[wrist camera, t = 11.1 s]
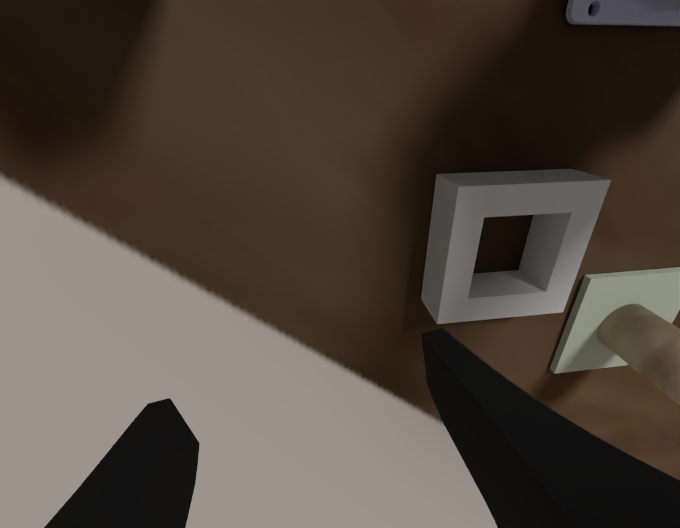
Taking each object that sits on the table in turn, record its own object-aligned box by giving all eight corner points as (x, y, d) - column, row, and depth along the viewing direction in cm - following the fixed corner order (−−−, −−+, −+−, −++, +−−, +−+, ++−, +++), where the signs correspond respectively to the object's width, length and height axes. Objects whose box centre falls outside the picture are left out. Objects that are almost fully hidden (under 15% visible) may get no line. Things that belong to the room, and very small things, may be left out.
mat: (693, 266, 23) (701, 269, 22) (644, 357, 26) (650, 362, 26) (584, 275, 22) (591, 278, 21) (549, 368, 25) (554, 373, 25)
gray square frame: (571, 168, 18) (610, 180, 16) (534, 289, 22) (563, 312, 19) (436, 174, 17) (458, 186, 15) (420, 298, 21) (436, 324, 18)
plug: (641, 294, 22) (763, 365, 17) (650, 326, 24) (764, 401, 18) (592, 323, 23) (694, 401, 17) (603, 352, 25) (700, 433, 19)
